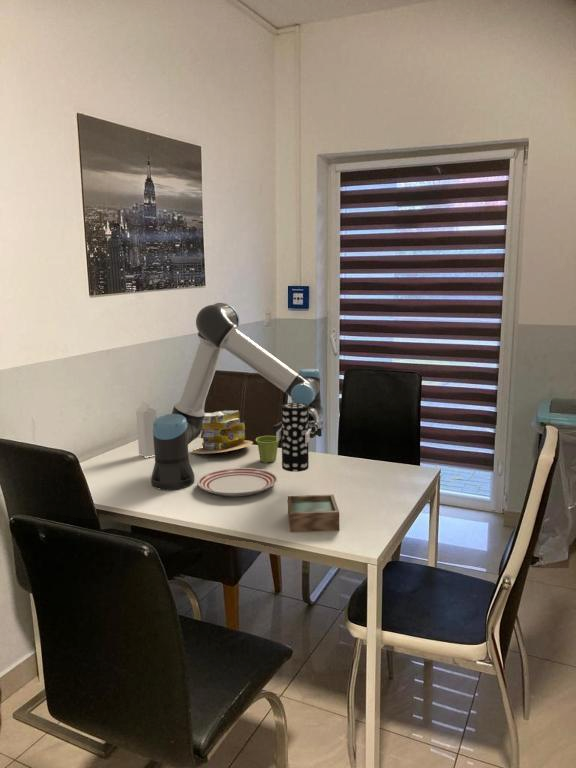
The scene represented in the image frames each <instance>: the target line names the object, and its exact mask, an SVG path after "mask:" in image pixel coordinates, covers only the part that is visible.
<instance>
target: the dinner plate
mask: <svg viewBox="0 0 576 768" xmlns="http://www.w3.org/2000/svg"><path fill="white" fill-rule="evenodd" d="M278 481H279V479H278V476H277V475H276V474H275V473H273V472H271V471H268V470H266V469H261V468H253V467H233V468H226V469H225V468H224V469H219V470H215V471H210V472H207V473H205V474H203V475H202V476H200V477H198V479H197V481H196V482H197V485H198V487H199V488H200V489H202V490H204V491H206V492H209V493H211V494H215V495H219V494H220V495H219V496H223V495H225V497H244V496H250V495H254V494H257V493H260V492H264V491H265V490H267V489H269V488H271V487H273V486H274V485H275V484H276V483H277V482H278Z"/></svg>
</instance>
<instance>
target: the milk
mask: <svg viewBox="0 0 576 768" xmlns="http://www.w3.org/2000/svg"><path fill="white" fill-rule="evenodd" d="M141 404H142V405H141V406H140V407H138V408H137V409H136V410H135V412H136V427H137V428H136V429H137V442H138V444H137V445H138V455H139V454H141V455H143V456H146V457H147V456H152V455H155V454H154V439H153V423H154V421H155V420H156V419H157V418H158V414H157V413H158V411H157V409H154V408H153V407H151V406H150V405H151V404H150V403H149V402H146V401H142V402H141Z"/></svg>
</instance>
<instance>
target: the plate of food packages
mask: <svg viewBox="0 0 576 768" xmlns="http://www.w3.org/2000/svg"><path fill="white" fill-rule="evenodd" d="M245 422H246V421H245V420H244V421H243V422H241V418H240V411H239V410H233V409H232V410H227V409H224V410H219V411H214V412H205V415H204V418H203V429H202V431H201V433H202V443H201V444H202V446H203V448H199V449H196V450H194V449H192V453H194V454H200V455H201V454H202V455H204V454H206V455H207V454H216V453H217V454H218V453H224V455H227V452H229V451H235V450H236V451H237V450H239V449H243V448H247V447H249V446H251V445H253V444H254V442H253V441H252V440H245V439H246V432H245V430H246V427H245V426H246V425H245Z"/></svg>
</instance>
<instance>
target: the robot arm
mask: <svg viewBox="0 0 576 768" xmlns="http://www.w3.org/2000/svg"><path fill="white" fill-rule="evenodd" d="M239 324H240V316H239V313H238V312H237V310H236V309H235V308H234V307H233V306H232V305H230V304H228V303H224V302H217V303H214V304H209V305H206V306H204V307H203V308H201V310H199V312H198V313H197V315H196V319H195V326H196V329H197V331H198V332H197V337H198V339H199V343H198V346H197V349H196V352H195V356H194V358H193V361H192V364H191V367H190V370H189V372H188V375H187V376H188V377H187V378H186V382H185V385H184V388H183V392H182V395H181V396H180V400H179V401H177V402H175V403H174V405H173V409H172V411H171V413H169V414H164V415H160V416H159V417H158V416H157V419H156V420H155V421H154V423H153V439H154V454H155V457H154V465H153V468H152V473H151V477H150V484H152V485H151V486H152V487H153V486H154V487H153V488H155V487H156V488H155V489H158V488H160V489H159V490H166V489H169V490H178V489H184V488H187V487H189V486H191V485H193V484H194V483H195V482H194V481H195V480H196V479H195V478H196V477H195V473H194V469H193V468H192V465H191V463H190V459H189V444H190V443H191V442H193V441H194V440H196V439H197V438H198V437H199V436H200V435H201V433H202V429H203V418H204V415H205V413H206V412H205V410H204V405H205V402H206V400H207V397H208V393H209V390H210V387H211V384H212V383H213V379H214V376H215V373H216V371H217V368H218V364H219V362H220V359H221V355H222V353H223V349H224V350H226V351H228V352H229V353H230V354H232V356H234V357H235V358H237V359H239V360H240V361H241V362H242V363H244V364H245V365H247V366H248V367H249V368H251V369H252V370H254V371H255V372H256V373H258V374H259V375H260V376H262V377H263V378H264V379H266V380H267V381H269V382H270V383H271V384H272V385H274V386H276V387H277V388H278V389H280V390H281V391H282V392H284V393H285V394H286V395H288V396H289V397H291V400H292V403H304V404H307V405H308V431H307V432H306V434H305V443H308V444H309V443H310V440H311V439H314V438H315V437H316V436H317V437H322V431H323V428H324V426H323V425H324V424H323V421H322V420H321V418H322V416H323V414H324V408H323V405H322V400H321V399H322V398H321V373H320V370H318V369H317V368H305V369H304V368H302V369H300V370H299V371H298V373H297V371H294V370H293V369H292V368H291V367H289V366H288V365H286V364H285V363H284V362H282V361H281V360H279V358H277V357H275V356H274V355H273V354H271V353H270V352H268V351H267V350H266V349H264V348H263V347H261V346H260V345H259V344H257V343H256V342H255V341H253V340H252V339H251V338H250V337H248V336H247V335H245V334H244V333H242V332H241V331H239ZM272 434H273V435H275V436H276V441H279V442H280V441H281V440H282V420H281V421H280V422H278V423H276V424H274V425H272Z"/></svg>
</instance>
